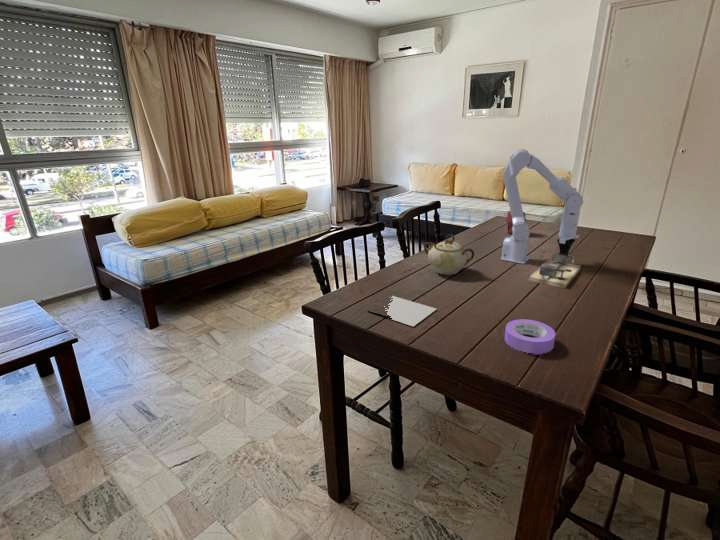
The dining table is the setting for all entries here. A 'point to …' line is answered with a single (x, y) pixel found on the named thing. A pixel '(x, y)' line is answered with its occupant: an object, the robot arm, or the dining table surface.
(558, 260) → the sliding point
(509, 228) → the mechanical component
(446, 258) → the cream teapot
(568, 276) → the hole board
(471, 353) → the dining table surface
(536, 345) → the masking tape
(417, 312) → the paper stack
